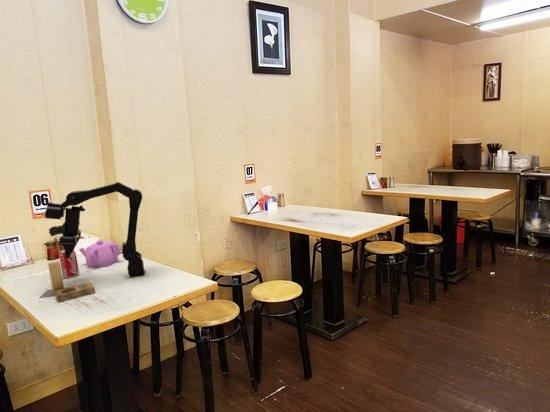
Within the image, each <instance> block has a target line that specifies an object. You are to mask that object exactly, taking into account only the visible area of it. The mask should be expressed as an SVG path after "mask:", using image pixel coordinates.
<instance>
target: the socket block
mask: <svg viewBox="0 0 550 412" xmlns="http://www.w3.org/2000/svg"><path fill="white" fill-rule="evenodd" d="M68 287H69V288H66V287H64V288H65V289H61V290H57V291H55V294H56V296H55V298H56V300H57V302H58V303H62V302H65V301H66V302H67V301H70V300H74V299H78V298H82V297H85V296H89V295H93V294H96V290H95V286H94V285H93V284H92V282H91V281H90V282H87V283H86V282H85V283H83V284H82V283H81V284H77V285H73V286H68Z"/></svg>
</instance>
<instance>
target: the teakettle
mask: <svg viewBox="0 0 550 412" xmlns="http://www.w3.org/2000/svg"><path fill="white" fill-rule="evenodd" d="M78 250H79V252H80V253H81V254H82V255H83V257H85V265H86V267H87V268H88V269H93V268H94V269H95V268H96V269H97V268H102V267H103V268H104V267H109V266H112V265H113V264H114V263H116V262H117V261H118V259H119V258H118V257H119V256H120V255H122V254H121V253H122V249H121V247H120V243H115V242H114V240H113V241H111V240H110V241H104V240H102V239H100V240H97V241H95V242H94V243H92V244H90V245H88V246H86V249H85V248H84V247H81V248H78Z"/></svg>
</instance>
